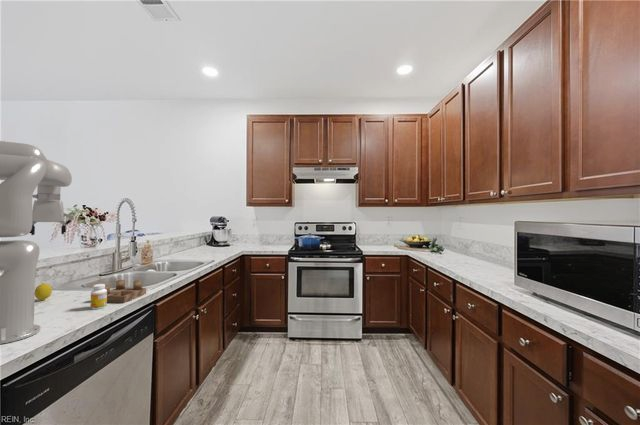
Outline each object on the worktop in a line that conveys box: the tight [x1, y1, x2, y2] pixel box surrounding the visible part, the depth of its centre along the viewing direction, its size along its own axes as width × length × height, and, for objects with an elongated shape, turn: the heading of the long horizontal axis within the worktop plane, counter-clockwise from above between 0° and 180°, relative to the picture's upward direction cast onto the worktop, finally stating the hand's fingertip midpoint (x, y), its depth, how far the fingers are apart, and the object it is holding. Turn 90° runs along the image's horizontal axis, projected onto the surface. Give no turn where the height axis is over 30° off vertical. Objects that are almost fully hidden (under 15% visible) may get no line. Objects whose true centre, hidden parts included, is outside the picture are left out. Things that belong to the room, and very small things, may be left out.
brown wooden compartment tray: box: [104, 279, 147, 304], centre depth 126 cm, size 14×14×7 cm
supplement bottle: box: [89, 283, 108, 310], centre depth 113 cm, size 5×5×10 cm
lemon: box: [35, 282, 53, 301], centre depth 121 cm, size 6×6×8 cm
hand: (48, 234), depth 122 cm, fingers open, 9 cm apart
